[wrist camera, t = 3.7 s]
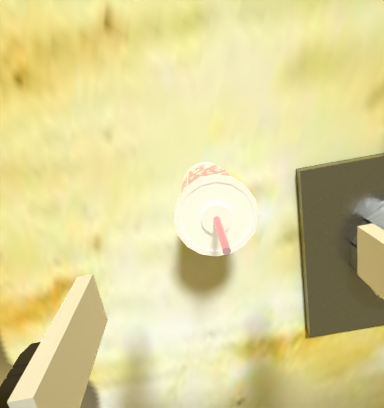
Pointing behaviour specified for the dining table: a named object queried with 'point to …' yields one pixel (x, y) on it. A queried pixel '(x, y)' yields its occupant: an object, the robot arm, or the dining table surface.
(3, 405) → the robot arm
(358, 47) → the dining table surface
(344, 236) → the cup holder
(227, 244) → the beverage cup
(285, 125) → the dining table surface
